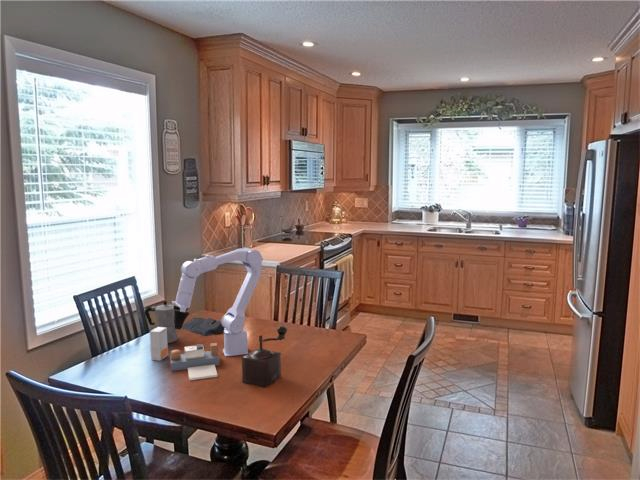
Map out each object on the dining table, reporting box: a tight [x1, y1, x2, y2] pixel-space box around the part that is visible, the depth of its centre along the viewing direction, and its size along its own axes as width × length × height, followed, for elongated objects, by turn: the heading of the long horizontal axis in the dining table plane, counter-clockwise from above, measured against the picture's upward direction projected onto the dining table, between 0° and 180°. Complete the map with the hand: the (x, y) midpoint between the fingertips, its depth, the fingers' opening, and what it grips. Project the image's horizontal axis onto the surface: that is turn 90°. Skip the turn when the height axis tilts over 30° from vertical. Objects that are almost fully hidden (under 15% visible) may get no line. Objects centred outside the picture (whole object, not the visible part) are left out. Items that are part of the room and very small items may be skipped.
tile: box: [187, 364, 218, 381], centre depth 181 cm, size 10×10×1 cm
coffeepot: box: [143, 300, 179, 344], centre depth 215 cm, size 15×9×18 cm, turn 103°
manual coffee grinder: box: [241, 325, 288, 388], centre depth 176 cm, size 16×11×18 cm
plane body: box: [169, 342, 221, 372], centre depth 189 cm, size 18×8×7 cm, turn 108°
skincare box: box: [149, 326, 169, 362], centre depth 195 cm, size 6×4×12 cm
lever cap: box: [184, 343, 205, 360], centre depth 189 cm, size 7×5×4 cm
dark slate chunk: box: [181, 317, 224, 337], centre depth 232 cm, size 15×22×5 cm
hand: (177, 326), depth 186 cm, fingers open, 7 cm apart
